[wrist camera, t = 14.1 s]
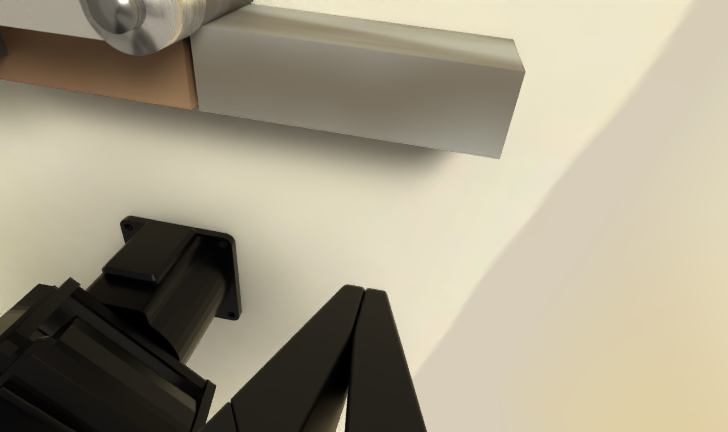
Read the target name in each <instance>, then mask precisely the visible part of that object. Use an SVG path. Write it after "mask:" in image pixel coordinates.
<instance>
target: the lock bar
mask: <svg viewBox="0 0 728 432" xmlns="http://www.w3.org/2000/svg"><path fill="white" fill-rule="evenodd" d="M205 12H206V0H0V25H1V26H8V27H15V28H22V29H29V30H36V31H43V32H50V33H57V34H64V35H71V36H78V37H84V38H91V39H98V40H104V41H106V42H107V43H108V44H109V45H111V46H112V47H114V48H116V49H117V50H119V51H121V52H124V53H127V54H130V55H135V56H145V55H149V54H152V53H155V52H157V51H159V50H161V49H163V48H165V47H167V46H169V45H171V44H173V43H175V42H177V41H179V40H182V39H184V38H186V37H188V36H190V35H191V34H193V33H194V32H195V31H197V30H198V28H199V27H200V26H201V24H202V22H203V20H204V17H205Z"/></svg>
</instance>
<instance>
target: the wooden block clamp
mask: <svg viewBox="0 0 728 432" xmlns="http://www.w3.org/2000/svg"><path fill="white" fill-rule="evenodd" d="M252 1H253V0H206V12H205V17H204V20H203V22H202V24H201V26H200V27H199V28H198V30H197V31H195V32H194V33H193V34H191V35H190V36H188V37H186V38H184V39H182V40H179V41H177V42H175V43H173V44H171V45H169V46H167V47H165V48H163V49H161V50H159V51H157V52H155V53H152V54H149V55H145V56H135V55H130V54H127V53H124V52H121V51H119V50H117V49H116V48H114V47H112V46H111V45H109V44H108V43H107V42H106V41H104V40H98V39H91V38H84V37H78V36H71V35H64V34H57V33H50V32H43V31H36V30H29V29H22V28H15V27H8V26H1V25H0V79H2V80H8V81H15V82H21V83H27V84H33V85H40V86H46V87H52V88H58V89H65V90H71V91H77V92H83V93H90V94H96V95H102V96H109V97H115V98H121V99H127V100H134V101H140V102H146V103H152V104H159V105H165V106H171V107H177V108H184V109H190V110H192V109H193V108H195V107H196V106H197V105H198V104H199V111H202V112H209V113H215V114H221V115H227V116H234V117H240V118H246V119H252V120H259V121H265V122H271V123H277V124H284V125H290V126H296V127H302V128H309V129H315V130H321V131H327V132H334V133H340V134H346V135H352V136H359V137H365V138H371V139H377V140H384V141H390V142H396V143H402V144H409V145H415V146H421V147H427V148H434V149H440V150H446V151H452V152H459V153H465V154H471V155H477V156H484V157H490V158H496V159H500V156H501V153H502V149H503V146H504V143H505V139H506V136H507V132H508V129H509V126H510V122H511V119H512V116H513V112H514V109H515V105H516V102H517V99H518V95H519V92H520V88H521V85H522V82H523V78H524V75H525V69H524V66H523V64H522V61H521V58H520V56H519V53H518V51H517V48H516V46H515V43H514V40H512V39H505V38H498V37H490V36H483V35H476V34H468V33H461V32H454V31H446V30H439V29H432V28H424V27H417V26H409V25H402V24H395V23H387V22H380V21H373V20H365V19H358V18H351V17H343V16H336V15H329V14H321V13H314V12H306V11H299V10H292V9H284V8H277V7H270V6H262V5H255V4H249V3H250V2H252Z"/></svg>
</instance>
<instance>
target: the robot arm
mask: <svg viewBox="0 0 728 432" xmlns="http://www.w3.org/2000/svg"><path fill="white" fill-rule="evenodd" d="M120 226H121V230H122V233H123V237H124V241H125V245H124V246H123V247H122V248H121V249H120V250H119V251H118V252H117V253H116V254H115V255H114V256H113V257H112V258H111V259H110V260H109V261H108V262H107V263H106V264H105V266H104V267H103V268H102V272H103V273H102V274H101V275H100V276H99V277H98V278H97V279H96V280H95V281H94V282H93V283H92V284H91V285H90V286H89V287H88V288H87V289H86V290H84V289H82V288H81V287H80V286H79V285H80V284H79V283H78V282H76V281H75V280H74V279H72V278H71V277H70V278H69V279H68V280H66V281H65V282H64V283H63V284H62V285H61V286H60V287H59V288H58V287H56V286H55V285H54V286H49V285H43V284H38V285H37V286H36V287H34V288H33V289H32V290H31V291H30V292H29V293H28V294H27V295H26V296H24V297H23V298H22V299H21V300H20V301H19V302H18V303H17V304H16V305H14V306H13V307H12V308H11V309H10V310H9V311H8V312H6V313H5V314H4V315H3V316H2V317H0V432H335V431H336V428H337V425H338V422H339V419H340V416H341V413H342V410H343V407H344V404H345V400H346V397H347V408H346V421H345V432H427V430H426V427H425V424H424V420H423V416H422V413H421V410H420V406H419V403H418V399H417V396H416V393H415V389H414V386H413V382H412V379H411V375H410V372H409V368H408V365H407V361H406V358H405V354H404V351H403V347H402V344H401V341H400V337H399V334H398V330H397V327H396V323H395V320H394V316H393V313H392V310H391V306H390V303H389V299H388V296H387V293H386V292H385V291H383V290H377V289H371V288H367V289H366V290H365V289H364V288H363V287H360V286H354V285H348V284H347V285H344V286H343V287H342V288H341V289H340V290H339V291H338V292H337V293H336V294H335V295H334V296H333V297H332V298H331V299H330V300H329V301H328V302H327V303H326V304H325V305H324V306H323V307H322V308H321V309H320V310H319V311H318V312H317V313H316V314H315V315H314V316H313V317H312V318H311V319H310V320H309V321H308V322H307V323H306V324H305V325H304V326H303V327H302V328H301V329H300V330H299V331H298V332H297V333H296V334H295V335H294V336H293V337H292V338H291V339H290V340H289V341H288V342H287V343H286V344H285V345H284V346H283V347H282V348H281V349H280V350H279V351H278V352H277V353H276V354H275V355H274V356H273V357H272V358H271V359H270V360H269V361H268V362H267V363H266V364H265V365H264V366H263V367H262V368H261V369H260V370H259V371H258V372H257V373H256V374H255V375H254V376H253V377H252V378H251V379H250V380H249V381H248V382H247V383H246V384H245V385H244V386H243V387H242V388H241V389H240V390H239V391H238V392H237V393H236V394H235V395H234V396H233V397H232V398H231V403H230V402H227V403H226V404H225V405H224V406H223V407H222V408H221V409H220V410H219V411H218V412H217V413H216V414H215V415H214V416H213V417H212V418H211V419H210V420H209V421H208V422H207V423H206V420H207V417H208V413H209V410H210V407H211V403H212V400H213V396H214V393H215V389H216V385H215V384H213V383H212V382H211V381H209V380H205V379H203V378H202V377H201V376H199V375H198V374H197V373H195V372H194V371H193V370H191V369H190V368H189V367H187V366H186V363H187V361H188V360H189V358H190V356H191V355H192V353H193V351H194V350H195V348H196V346H197V345H198V343H199V341H200V340H201V338H202V336H203V335H204V333H205V331H206V330H207V328H208V326H209V325H210V323H211V321H212V319H213V318H214V317H218V318H223V319H228V320H238V319H239V317H240V315H241V313H242V309H241V299H240V288H239V277H238V267H237V256H236V245H235V240H234V238H233V237H232V236H231V235H229V234H226V233H221V232H216V231H210V230H205V229H199V228H194V227H189V226H183V225H178V224H172V223H167V222H161V221H156V220H151V219H145V218H140V217H134V216H127V217H125V218H124V219H123V220H122V221H121V223H120ZM223 241H224V242H226V243H227V244H225V243H224V242H223ZM347 393H348V396H347Z"/></svg>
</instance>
